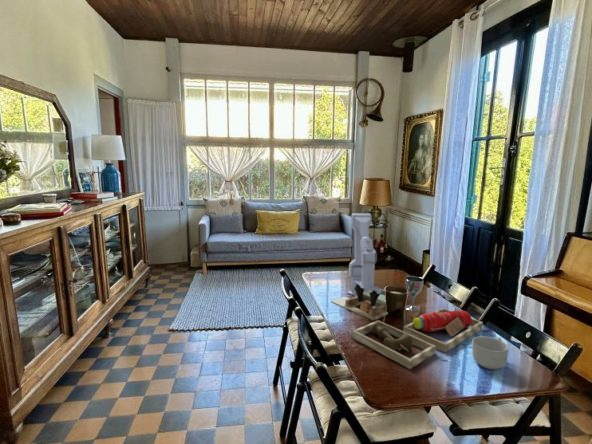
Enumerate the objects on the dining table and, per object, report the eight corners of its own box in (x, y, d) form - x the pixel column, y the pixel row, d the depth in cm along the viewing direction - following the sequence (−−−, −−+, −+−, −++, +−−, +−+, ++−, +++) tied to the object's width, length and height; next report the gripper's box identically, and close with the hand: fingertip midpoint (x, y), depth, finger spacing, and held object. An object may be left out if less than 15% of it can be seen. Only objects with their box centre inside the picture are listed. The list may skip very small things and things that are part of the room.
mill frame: (377, 326, 142) (378, 320, 141) (435, 353, 121) (435, 345, 121) (352, 337, 132) (352, 330, 131) (409, 369, 112) (410, 360, 111)
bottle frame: (441, 314, 155) (442, 307, 154) (482, 328, 141) (483, 322, 140) (402, 333, 136) (403, 326, 135) (445, 352, 122) (445, 345, 121)
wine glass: (403, 310, 159) (405, 280, 156) (404, 304, 166) (406, 275, 164) (420, 313, 156) (423, 282, 153) (421, 306, 163) (423, 277, 161)
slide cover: (372, 290, 172) (372, 285, 171) (397, 300, 160) (398, 294, 159) (361, 294, 166) (361, 289, 166) (387, 304, 154) (387, 298, 154)
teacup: (493, 377, 108) (496, 354, 107) (463, 360, 117) (465, 339, 116) (518, 365, 114) (520, 344, 113) (487, 350, 124) (490, 330, 122)
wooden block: (365, 308, 161) (366, 300, 160) (372, 310, 158) (372, 302, 157) (360, 310, 158) (360, 302, 158) (366, 313, 155) (367, 305, 155)
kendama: (386, 332, 138) (419, 356, 119) (366, 337, 134) (397, 362, 116) (386, 319, 137) (420, 341, 118) (366, 323, 134) (397, 346, 115)
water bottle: (482, 321, 133) (427, 326, 128) (477, 337, 136) (423, 343, 131) (462, 304, 144) (410, 308, 139) (458, 320, 147) (407, 324, 142)
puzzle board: (370, 297, 173) (370, 290, 173) (399, 309, 159) (400, 301, 159) (343, 307, 161) (344, 299, 161) (373, 320, 147) (373, 311, 147)
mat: (344, 297, 174) (344, 296, 174) (356, 302, 167) (356, 301, 167) (330, 301, 168) (330, 300, 167) (342, 307, 161) (342, 306, 161)
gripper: (350, 273, 158) (349, 300, 160) (374, 281, 147) (373, 310, 149) (360, 271, 163) (359, 297, 165) (384, 278, 151) (383, 306, 154)
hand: (366, 303), depth 157 cm, fingers open, 7 cm apart
